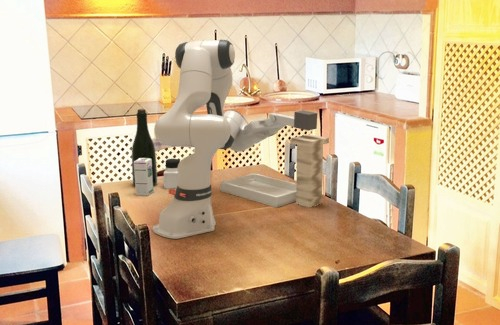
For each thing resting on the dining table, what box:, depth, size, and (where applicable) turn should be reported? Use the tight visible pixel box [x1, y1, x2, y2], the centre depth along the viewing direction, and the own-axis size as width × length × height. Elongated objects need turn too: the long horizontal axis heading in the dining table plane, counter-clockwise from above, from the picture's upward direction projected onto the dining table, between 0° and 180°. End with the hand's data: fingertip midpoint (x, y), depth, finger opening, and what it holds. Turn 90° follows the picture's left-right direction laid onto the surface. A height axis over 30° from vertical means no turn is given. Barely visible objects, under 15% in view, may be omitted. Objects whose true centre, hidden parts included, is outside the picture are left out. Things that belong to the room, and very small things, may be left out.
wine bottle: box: [131, 108, 158, 187], centre depth 260 cm, size 10×10×33 cm
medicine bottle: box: [163, 158, 181, 190], centre depth 260 cm, size 7×7×12 cm
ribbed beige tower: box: [290, 134, 330, 208], centre depth 232 cm, size 10×10×26 cm
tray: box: [219, 172, 296, 208], centre depth 249 cm, size 20×32×4 cm, turn 44°
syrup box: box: [134, 158, 154, 197], centre depth 249 cm, size 6×6×14 cm
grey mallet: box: [268, 110, 318, 131], centre depth 234 cm, size 5×21×6 cm, turn 44°
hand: (278, 117), depth 239 cm, fingers closed on grey mallet, 3 cm apart
